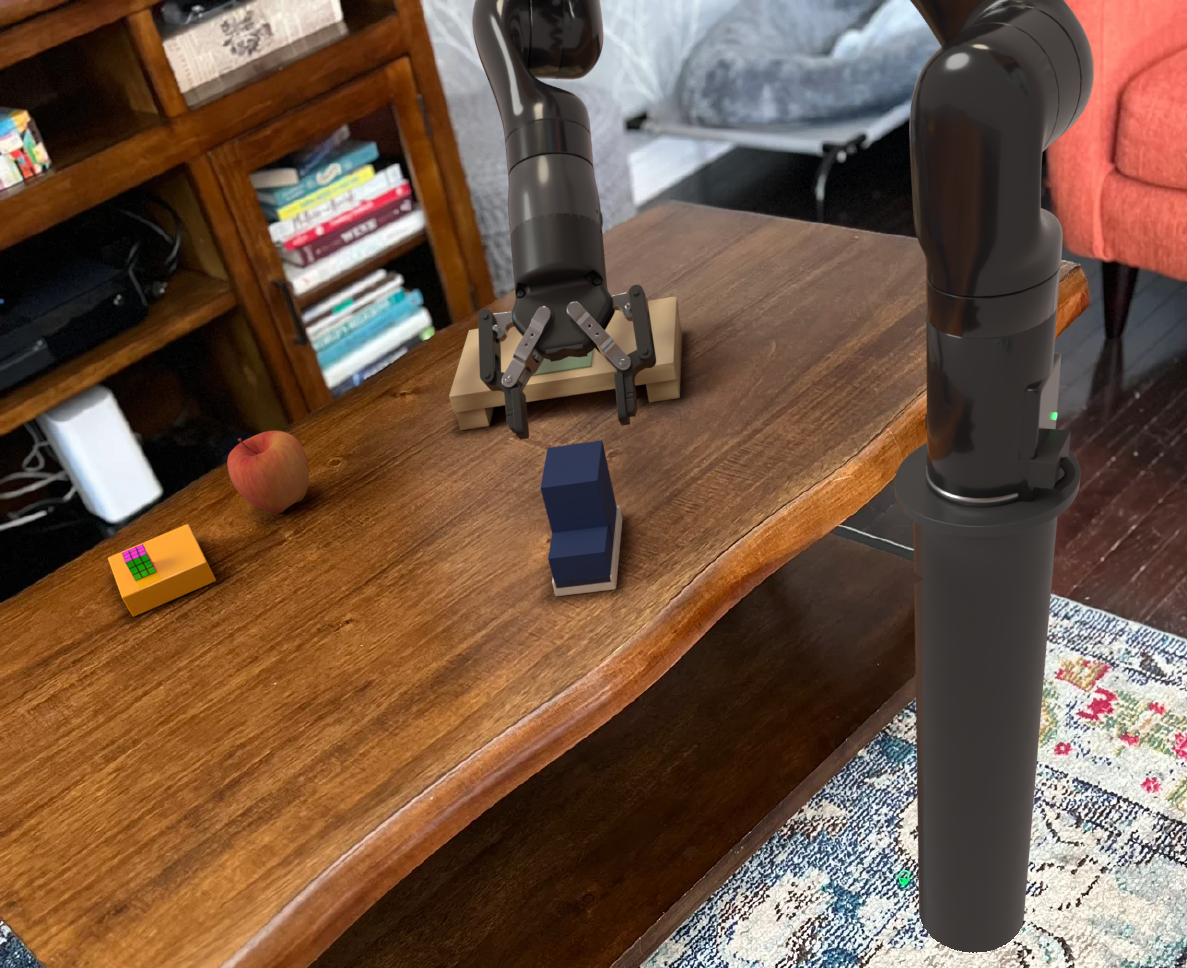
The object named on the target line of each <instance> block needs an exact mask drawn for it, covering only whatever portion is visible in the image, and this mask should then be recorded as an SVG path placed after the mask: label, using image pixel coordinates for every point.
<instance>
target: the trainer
mask: <svg viewBox="0 0 1187 968" xmlns="http://www.w3.org/2000/svg"><path fill="white" fill-rule="evenodd" d="M543 465H544V466H543V472H542V477H541V483H540V493H541V496H542V499H543V504H544V508H545V512H546V515H547V519H548V522H549V527H550V531H551V537H550V543H549V551H548V556H547V560H548V564H549V568H550V571H551V575H552V580H551V583H552V587H553V592H554V595H555V597H563V596H571V595H578V594H580V595H581V594H587V593H596V592H605V591H613V590H617V582H618V572H619V571H618V570H619V561H620V552H621V551H620V550H621V549H620V548H621V539H622V529H623V528H622V527H623V515H622V511H621V506H620V504H617V502H616V497H615V493H614V487H613V483H612V479H611V473H610V470H609V465H608V460H607V455H606V450H605V446H604V441H603V440H602V439H600V440H593V441H587V442H580V443H572V444H565V445H558V446H552V447H547V449H546V454H545V460H544V464H543Z"/></svg>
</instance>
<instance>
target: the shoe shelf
mask: <svg viewBox="0 0 1187 968" xmlns="http://www.w3.org/2000/svg"><path fill="white" fill-rule="evenodd" d="M647 301H648V307H649V314H650V320H651V327H652V334H653V341H654V347H655V354H656V364H655V366H654V367H652V368H645V369H644V370H642V371H640V372H639V373H638V374H637V375H636V377H635V387H636V386H642V385H645V387H646V393H647V398H648V403H655V402H656V403H657V402H661V401H667V400H669V401H670V400H676V399H680V398H681V375H682V352H683V351H682V350H683V332H682V323H681V319H680V318H681V317H680V309H679V301H678V297H677V296H670V297H663V298H658V299H650V300H647ZM605 331H606V332H607V333H608V334H609V336H610V337H611V338H612V339H613V340H614V342H615V343H616V344H617V345H618V346H619V347H620V348H621V349H622V350H623V351H624V352H625V353H626V355H628V354H629V353H631V352H633V351H635V350H637V347H636V340H635V333H634V327H633V321H627V320H626V319H625V317H624V315H623V313H622V312H621V311H619V310H615V313H614V315H613V317H612V319H611V321H610V323H609V324H608V326H607V328H606V330H605ZM522 337H523V336H522V335H521V334H520V333H519V331H518V330H517V329H516V327H512V328H510V329H509V331H508V333H507V338H506V339H505V340H504V341H502V342H500V343H501V372H504V373H505V371H506V370H507V368H508V366H509V364H510V363H511V361H512V359H513V354H514V351H515V349H516V348H517V346H518V344H519V343H520V341H521V339H522ZM527 346H528V345H527ZM535 358H536V357H535ZM614 373H617V370H616V369H615V368H614V367H613V366H612V365H611V364H610V363H609V362H607V361H606V360H605V359H604V357H603V356H602V355H601V354H600V353H599V352H598V351H597V350H596V349H594V350H593V351H591V352H590V353H588V356H585V357H570V356H569V357H566V358H564V359H562V360H559V361H553V362H551V361H550V360H549V359H545V358H544V360H543V361H542V363H541V365H540V366H539V368H538V370H537V371H536V373H535V374H533V375H532V376H531V378H530V379H529V381H528V383H527V384H526V386H525V388H524V390H523V393H524V394H525V395H526V403H529V402H537V401H542V400H549V399H555V398H556V399H557V398H563V397H569V396H576V395H582V394H589V393H596V392H601V391H608V390H609V391H610V390H615V378H614ZM448 398H449V401H450V404H451V407H452V411H453V413H454V414H455V416H456V419H457V423H458V426H459V429H460V431H466V430H472V429H480V428H485V427H490V426H491V421H492V418H493V417H492V416H493V412H494V408H496V407H502V406H503V407H504V406H505V397H504V392H502V391H492V390H490V389H489V388H488V387H487V386H486V385H485V383H484V382H483V381H482V380H481V379H480V367H479V332H478V328H473V329H469V330H468V332H467V336H466V339H465V342H464V346H463V348H462V352H461V356H460V359H459V361H458V366H457V368H456V372H455V375H454V379H453V382H452V385H451V389H450V392H449V395H448Z"/></svg>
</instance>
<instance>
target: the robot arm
mask: <svg viewBox="0 0 1187 968" xmlns="http://www.w3.org/2000/svg"><path fill="white" fill-rule="evenodd" d="M909 1H910V3H911V4H912V5H913V6H914V8H915V9H916V10H917V12H918V13H919V14H920V16H921V17H922V19H923V20H924V22H925V23H926V25H927V26H928V28H929V29H930V31H931V32H932V34H933V36H934V37H935V39H936V40H937V42H938V43H939V45H940V47H939V48H938V49H936V50H935V51H934V52H933V53H932V55H931V56H930V57H929V58H928V59H927V60H926V62H925V63H924V64H923V66H922V68H921V70H920V72H919V75H918V76H917V79H916V82H915V85H914V89H913V91H912V97H911V103H910V111H909V130H908V131H909V134H908V136H909V139H908V140H909V159H910V160H909V162H910V174H911V175H910V178H911V194H912V195H911V196H912V212H913V224H914V230H915V235H916V238H917V241H918V244H919V246H920V248H921V251H922V253H923V255H924V258H925V275H926V276H925V295H926V296H925V309H926V310H925V311H926V313H925V322H926V323H925V325H926V326H925V328H926V329H925V330H926V331H925V333H926V339H925V341H926V343H925V344H926V345H925V346H926V358H925V359H926V360H925V361H926V414H924V415H925V417H924V419H925V425H924V427H925V428H924V430H925V431H926V443H927V466H926V482H927V485H928V487H929V489H930V490H931V491H932V492H933V493H934V494H935V495H936V496H938V497H939V498H941V499H943V500H945V501H947V502H950V503H953V504H957V505H961V506H967V507H994V506H1001V505H1006V504H1010V503H1013V502H1017V501H1023V502H1033V501H1034V499H1035V497H1036V495H1037V493H1038V491H1039V489H1040V488H1046V489H1053V487H1054V488H1055V489H1056V490H1057V491H1062V490H1063V489H1064V488H1065V487H1067V486H1068V485H1069V484H1070V483H1071V482H1072V481H1073V480H1074V478H1075V474H1076V470H1075V467H1074V465H1073V464H1072V463H1071V461H1070V460H1069V459H1068V456H1069V450H1070V444H1071V432H1072V431H1071V430H1069V429H1059V428H1057V418H1058V403H1059V392H1060V377H1061V363H1062V355H1061V352H1057V351H1055V347H1056V332H1057V319H1058V317H1057V316H1058V305H1059V304H1058V302H1059V293H1060V292H1059V289H1060V276H1061V264H1062V256H1063V239H1064V238H1063V228H1062V224H1061V222H1060V221H1059V219H1058V217H1056V215H1055V214H1053V213H1052V212H1050V211H1049V210H1047V209H1044V208H1042V164H1043V163H1042V162H1043V152H1045V151H1046V150H1047V149H1048V148H1050V147H1051V145H1053V144H1054V143H1056V141H1057V140H1059V139H1060V138H1061V137H1062V136H1063V135H1065V134H1066V132H1068V131H1069V130H1070V129H1071V128H1072V127H1073V126H1074V124H1076V122H1077V121H1078V120H1079V119H1080V117H1081V116H1082V114H1083V113H1084V111H1085V109H1086V108H1087V106H1088V103H1089V101H1090V99H1091V95H1092V91H1093V88H1094V87H1093V86H1094V79H1095V69H1094V57H1093V50H1092V47H1091V44H1090V41H1089V38H1088V36H1087V34H1086V31H1085V29H1084V27H1083V25H1082V23H1081V22H1080V20H1079V19H1078V17H1077V15H1076V14H1075V12H1074V11H1073V9H1072V8H1071V7H1070V6H1069V4H1068V3H1067V1H1066V0H909ZM471 17H472V18H471V21H472V22H471V24H472V33H473V40H474V44H475V47H476V51H477V53H478V57H479V58H478V59H479V61H480V63H481V66H482V68H483V71H484V73H485V76H486V79H487V81H488V84H489V86H490V89H491V92H492V95H493V97H494V99H495V103H496V107H497V110H498V113H499V116H500V120H501V125H502V128H503V136H504V145H505V157H506V168H507V169H506V170H507V179H508V180H507V181H508V182H507V183H508V191H507V214H508V227H509V238H510V247H511V248H510V249H511V250H510V251H511V261H512V271H513V272H512V273H513V285H514V296H515V298H514V299H515V300H514V304H513V307H512V309H511V311H504V312H503V311H502V312H494V313H493V312H492V310H490V309H489V308H482V309H481V310H480V311H479V312H478V314H477V326H478V327H477V329H478V332H479V367H480V379H481V380H482V381H483V382H484V383H485V385H486V386H487V387H488V388H489V389H490V390H492V391H502V392H504V397H505V405H504V407H505V408H504V409H505V418H506V425H507V426H508V427H507V428H509V430H510V431H511V432H512V433H513V434H515V435H516V437H517V438H518V439H519V440H527V439H529V438H530V430H529V429H530V427H529V421H528V420H529V419H528V417H529V416H528V407H527V402H526V395H525V394H524V393H523V390H524V388H525V386H526V384H527V383H528V381H529V379H530V378H531V376H532V375H533V374H535V373H536V371H537V370H538V368H539V366H540V365H541V363H542V361H543V360H544V358H545V359H549V360H550V361H551V362H553V361H559V360H562V359H564V358H566V357H569V356H570V357H585V356H588V353H590V352H591V351H593V350H594V349H596V350H597V351H598V352H599V353H600V354H601V355H602V356H603V357H604V359H605V360H606V361H607V362H609V363H610V364H611V365H612V366H613V367H614V368H615V369H616V370H617V373H614V378H615V389H614V390H615V401H616V413H617V419H618V423H619V424H620V425H621V426H629V425H631V418H634V417H636V416H637V412H638V403H637V391H636V390H637V389H636V386H635V377H636V375H637V374H638V373H639V372H640V371H642V370H644V369H645V368H652V367H654V366H655V364H656V354H655V347H654V341H653V334H652V327H651V320H650V314H649V307H648V301H649V300H648V298H647V295H646V293H645V290H644V288H643V286H642V285H640V284H633V285H631V286H630V288H629V289H628V291H625V292H621V293H615V294H612V295H611V293H610V291H609V289H608V283H607V282H608V280H607V269H606V258H605V257H606V256H605V247H604V245H605V244H604V235H603V234H604V233H603V227H604V217H603V213H602V211H601V202H600V194H599V190H598V185H597V181H596V175H595V166H594V165H595V164H594V156H593V155H594V154H593V153H594V152H593V144H592V143H593V142H592V132H591V122H590V115H589V111H588V108H587V105H586V104H585V103H584V101H583V100H582V99H581V98H580V97H579V96H578V95H576V94H575V93H573V92H571V91H569V90H565V89H563V88H560V87H557V86H555V85H552V84H549V83H546V82H544V81H542V80H540V79H546V80H547V79H548V80H578V79H582V78H584V77H586V76H587V75H588V74H590V72H591V71H592V70H593V69H594V68H595V66H596V65H597V63H598V61H599V60H600V57H601V54H602V52H603V47H604V34H605V33H604V21H603V13H602V5H601V0H474V4H473V8H472V15H471ZM615 310H619V311H621V312H622V313H623V315H624V317H625V319H626V320H627V321H633V327H634V333H635V340H636V347H637V350H635V351H633V352H631V353H629V354H628V355H626V353H625V352H624V351H623V350H622V349H621V348H620V347H619V346H618V345H617V344H616V343H615V342H614V340H613V339H612V338H611V337H610V336H609V334H608V333H607V332H606V331H605V330H606V328H607V326H608V324H609V323H610V321H611V319H612V317H613V315H614V313H615ZM512 327H516V329H517V330H518V331H519V333H520V334H521V335H522V336H523V337H522V339H521V341H520V343H519V344H518V346H517V348H516V349H515V351H514V354H513V359H512V361H511V363H510V364H509V366H508V368H507V370H506V371H505V373H504V372H501V343H500V342H502V341H504V340H505V339H506V338H507V333H508V331H509V329H510V328H512ZM527 345H528V346H527ZM535 357H536V358H535ZM1062 469H1063V471H1064V476H1063V477H1062V478H1060V479H1059V480H1058V481H1057V479H1058V477H1059V475H1060V473H1061V471H1062ZM1056 481H1057V482H1056Z"/></svg>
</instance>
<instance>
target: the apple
mask: <svg viewBox="0 0 1187 968" xmlns="http://www.w3.org/2000/svg"><path fill="white" fill-rule="evenodd" d="M237 441H238V442H239V443H238V444H237V445H235V446H234V448H233V449H232V450H231V451H230V452H229V454H228V457H227V472H228V475H229V478H230V480H231V483H232V485H233V486H234V488H235V490H236V491H237V492H238V493H239V494H240V496H241V497H242V498H243V499H244V500H246V501H247V502H248V503H250V505H252V506H253V507H255V508H257V509H260V510H261V511H264V512H268V513H271V514H276V515H279V514H281V513H283V512H285V511H286V509H288V508H289V507H291V506H292V505H294V504H295V503H299V502H301V501H302V500H303V499H304V498H305V496H306V493H307V490H308V486H309V480H310V466H309V460H308V456H307V454H306V451H305V449H304V448H303V445H302V444H301V442H299V440H298V439H297V438H296V437H295V436H293V435H292V434H291V433H288V432H286V431H281V430H268V431H262V432H260V433H258V434H256V435H253V436H251V437H249V438H246V439H245V440H242V438H237Z"/></svg>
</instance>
